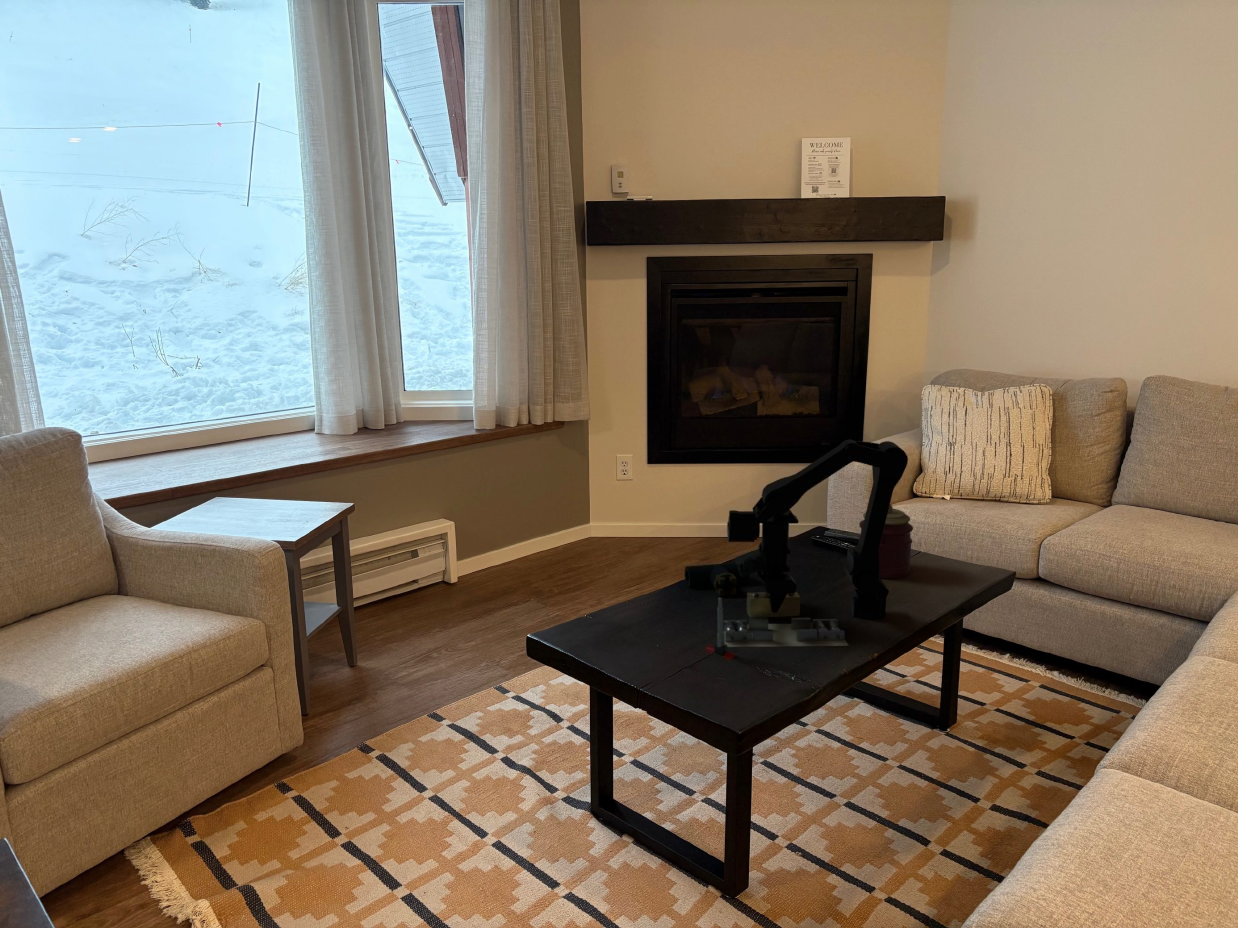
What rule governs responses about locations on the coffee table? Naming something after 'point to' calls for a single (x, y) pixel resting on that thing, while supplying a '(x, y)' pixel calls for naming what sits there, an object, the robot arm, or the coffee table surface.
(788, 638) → the board
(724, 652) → the gray post stand
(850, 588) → the coffee table surface
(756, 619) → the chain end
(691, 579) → the pipe connector
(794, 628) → the chain end
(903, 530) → the canister
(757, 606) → the tapered knobbed panel
